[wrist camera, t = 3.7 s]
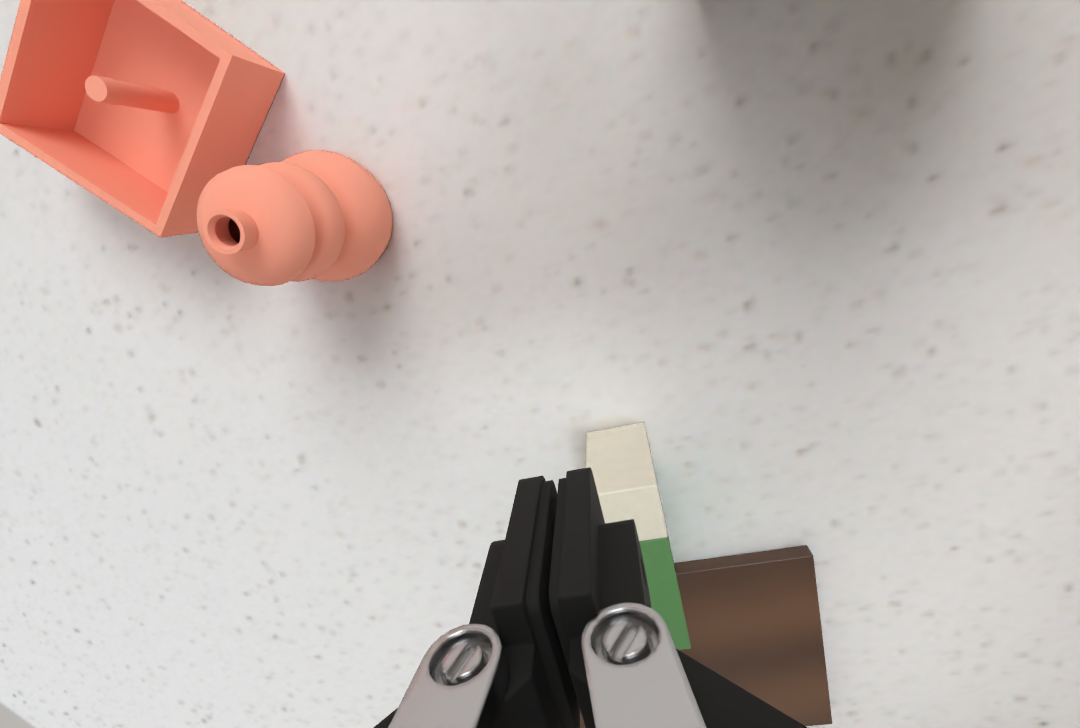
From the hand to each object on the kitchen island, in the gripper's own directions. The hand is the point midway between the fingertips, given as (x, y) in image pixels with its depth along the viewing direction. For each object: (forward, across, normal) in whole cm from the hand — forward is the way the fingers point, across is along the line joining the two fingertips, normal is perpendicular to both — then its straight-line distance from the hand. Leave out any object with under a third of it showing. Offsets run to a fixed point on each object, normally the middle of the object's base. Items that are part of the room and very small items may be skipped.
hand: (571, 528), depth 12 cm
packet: (+19, -1, +12) cm, 22 cm away
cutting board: (+19, -1, +24) cm, 30 cm away
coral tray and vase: (+19, +15, -13) cm, 28 cm away
